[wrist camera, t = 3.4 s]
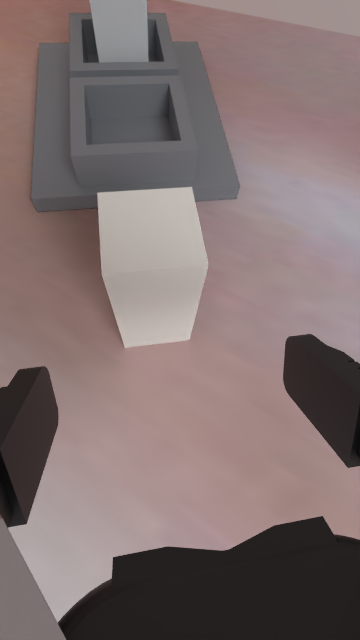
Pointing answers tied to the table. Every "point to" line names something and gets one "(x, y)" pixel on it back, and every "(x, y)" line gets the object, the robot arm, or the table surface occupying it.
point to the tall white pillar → (152, 262)
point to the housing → (125, 113)
